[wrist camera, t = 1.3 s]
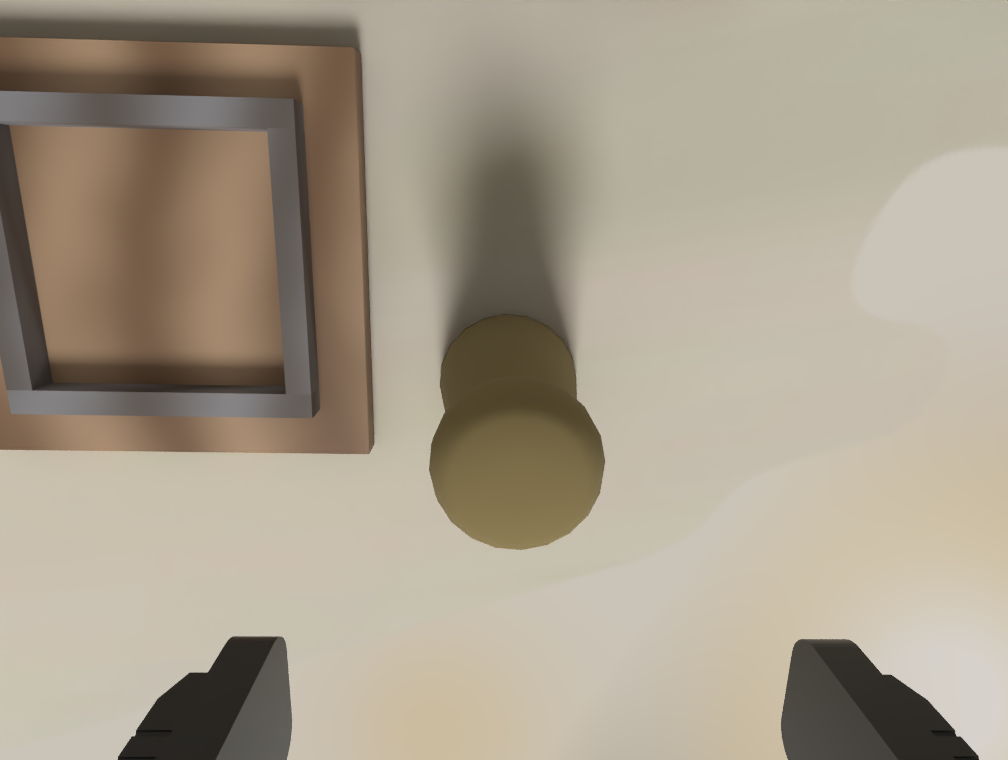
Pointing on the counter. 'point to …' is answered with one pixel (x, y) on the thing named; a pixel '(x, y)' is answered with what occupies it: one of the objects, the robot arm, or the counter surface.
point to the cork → (514, 436)
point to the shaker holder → (183, 248)
